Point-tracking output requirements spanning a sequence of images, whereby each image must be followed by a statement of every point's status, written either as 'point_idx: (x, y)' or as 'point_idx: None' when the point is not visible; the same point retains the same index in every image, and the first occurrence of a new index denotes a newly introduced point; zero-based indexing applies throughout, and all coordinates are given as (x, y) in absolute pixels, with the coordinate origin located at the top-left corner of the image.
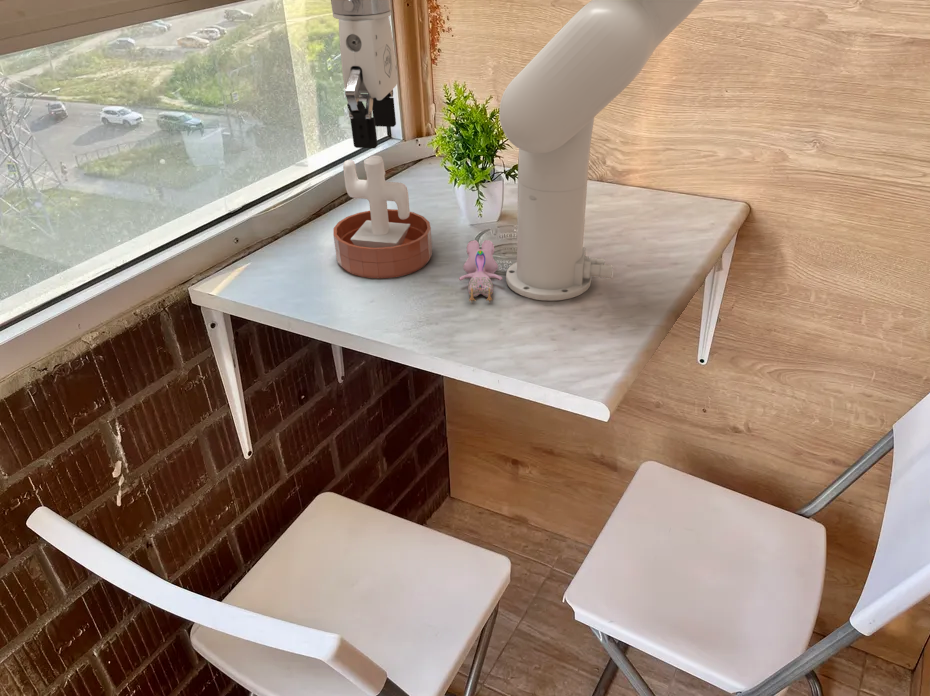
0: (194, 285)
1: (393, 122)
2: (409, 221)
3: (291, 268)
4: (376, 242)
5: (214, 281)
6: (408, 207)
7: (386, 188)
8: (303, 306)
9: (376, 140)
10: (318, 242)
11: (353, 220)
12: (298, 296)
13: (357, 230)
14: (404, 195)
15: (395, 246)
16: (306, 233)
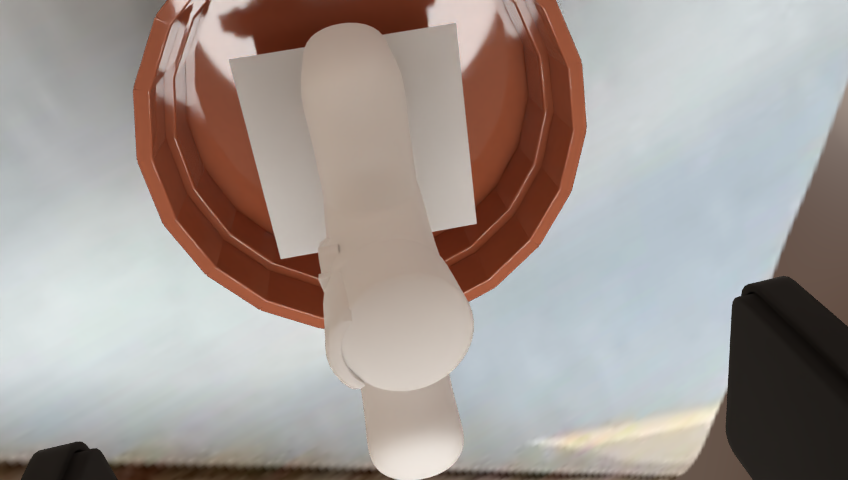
0: (678, 473)
1: (80, 473)
2: (160, 98)
3: (533, 335)
4: (461, 116)
5: (650, 450)
6: (345, 30)
7: (408, 173)
8: (753, 175)
9: (803, 310)
10: None
11: (306, 301)
12: (696, 222)
13: (301, 270)
14: (383, 53)
15: None
16: (292, 429)
